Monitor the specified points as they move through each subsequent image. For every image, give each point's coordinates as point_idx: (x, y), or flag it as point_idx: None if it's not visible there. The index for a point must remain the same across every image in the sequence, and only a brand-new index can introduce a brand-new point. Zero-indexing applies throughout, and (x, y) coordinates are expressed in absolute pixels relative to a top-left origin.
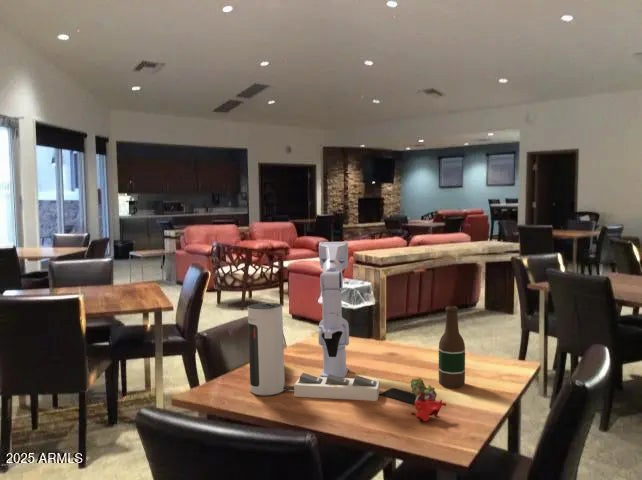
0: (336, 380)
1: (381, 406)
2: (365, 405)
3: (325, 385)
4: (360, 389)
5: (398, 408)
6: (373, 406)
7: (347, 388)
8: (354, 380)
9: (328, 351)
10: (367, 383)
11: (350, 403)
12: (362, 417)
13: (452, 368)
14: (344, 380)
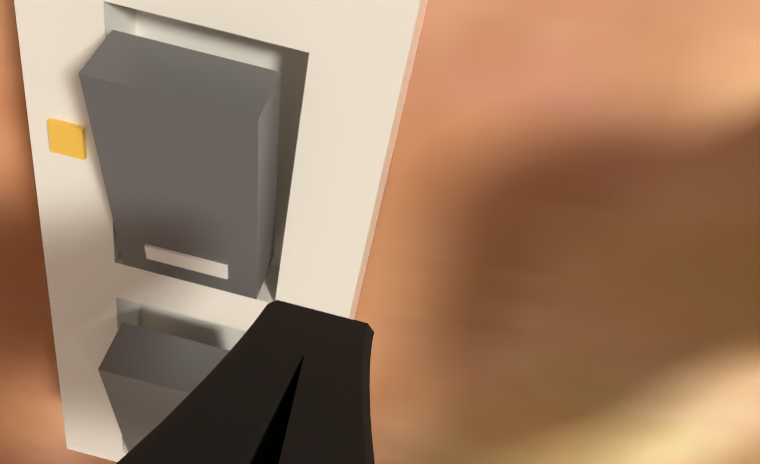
0: (104, 179)
1: (19, 372)
2: (6, 286)
3: (53, 10)
4: (60, 340)
5: (14, 442)
6: (3, 329)
7: (46, 243)
8: (105, 355)
9: (207, 388)
10: (124, 426)
11: (16, 189)
12: None
13: None
14: (187, 259)
